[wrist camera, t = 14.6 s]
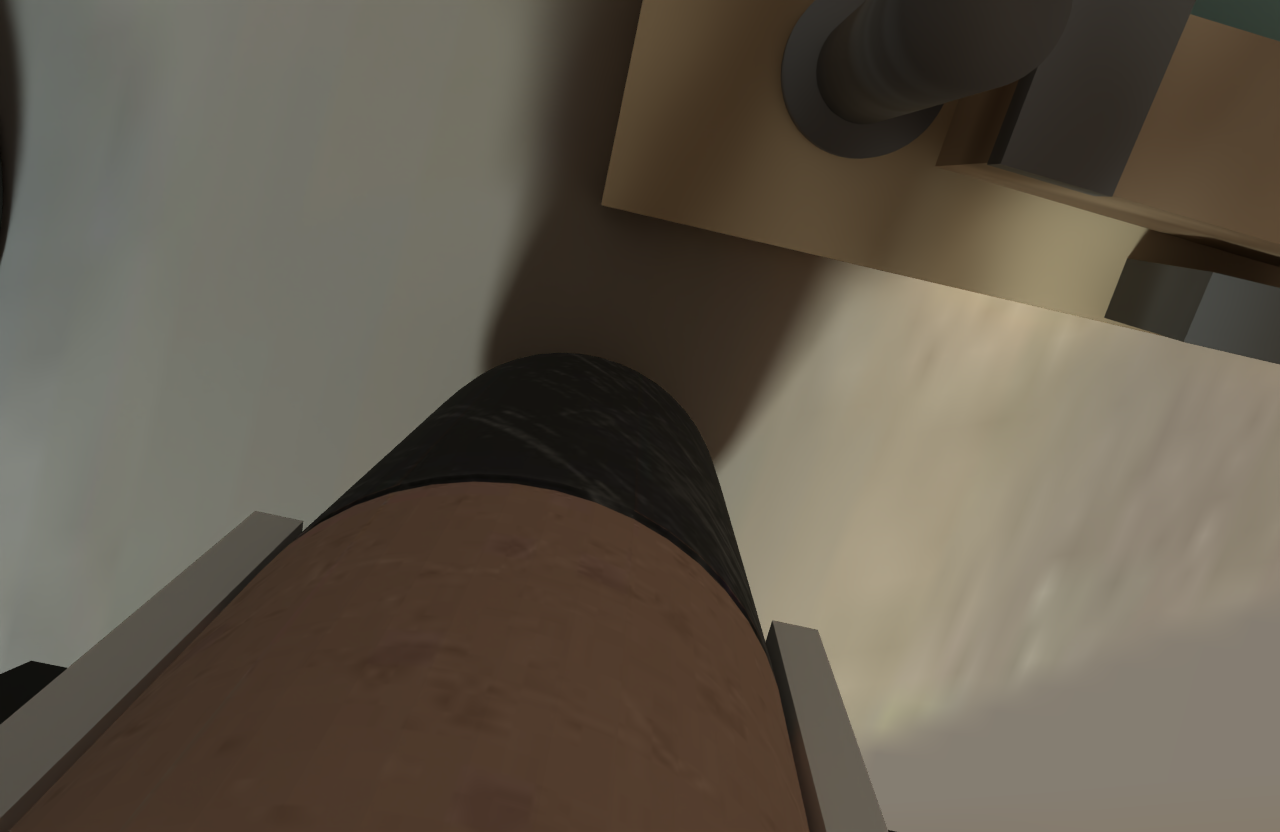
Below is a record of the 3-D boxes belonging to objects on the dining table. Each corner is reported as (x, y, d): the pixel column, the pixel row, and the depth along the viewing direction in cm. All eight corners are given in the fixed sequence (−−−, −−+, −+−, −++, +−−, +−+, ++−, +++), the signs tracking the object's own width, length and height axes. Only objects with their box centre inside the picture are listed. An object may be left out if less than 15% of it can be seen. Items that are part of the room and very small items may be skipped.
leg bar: (924, 168, 17) (1000, 164, 13) (980, 11, 17) (1079, -43, 13) (1358, 295, 18) (1554, 326, 14) (1435, 148, 17) (1668, 138, 13)
